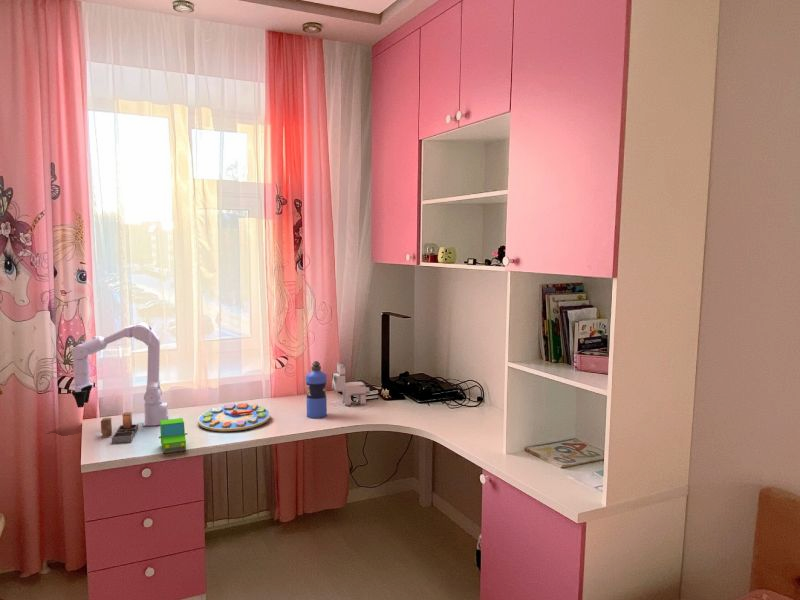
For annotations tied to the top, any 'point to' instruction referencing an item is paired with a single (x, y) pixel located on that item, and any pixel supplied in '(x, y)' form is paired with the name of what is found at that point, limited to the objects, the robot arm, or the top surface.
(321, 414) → the water bottle
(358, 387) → the toy llama
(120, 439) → the grey compartment box
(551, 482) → the top surface
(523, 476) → the top surface
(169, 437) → the toy car
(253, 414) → the shape sorting clock
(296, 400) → the top surface
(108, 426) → the wooden block with lid
